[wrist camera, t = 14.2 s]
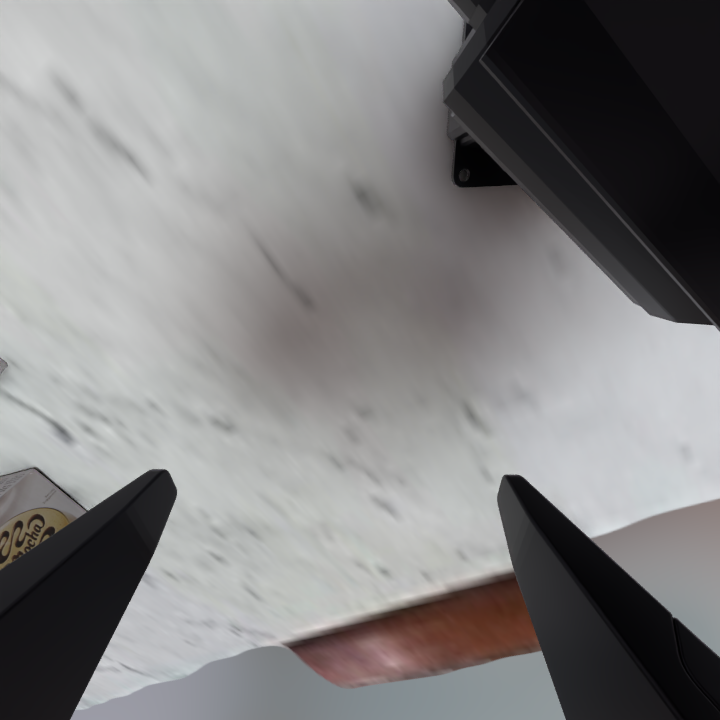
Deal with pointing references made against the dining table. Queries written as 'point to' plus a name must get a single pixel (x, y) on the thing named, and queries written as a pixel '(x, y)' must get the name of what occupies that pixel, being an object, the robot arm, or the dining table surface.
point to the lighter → (2, 365)
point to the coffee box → (31, 513)
